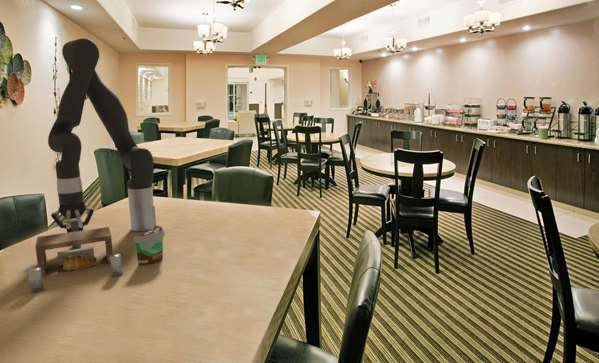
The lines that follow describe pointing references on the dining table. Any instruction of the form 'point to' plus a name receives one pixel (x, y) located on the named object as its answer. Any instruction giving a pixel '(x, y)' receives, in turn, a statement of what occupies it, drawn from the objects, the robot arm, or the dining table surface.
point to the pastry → (78, 262)
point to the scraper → (77, 248)
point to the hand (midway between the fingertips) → (75, 237)
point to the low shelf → (71, 243)
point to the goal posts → (37, 280)
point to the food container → (150, 246)
